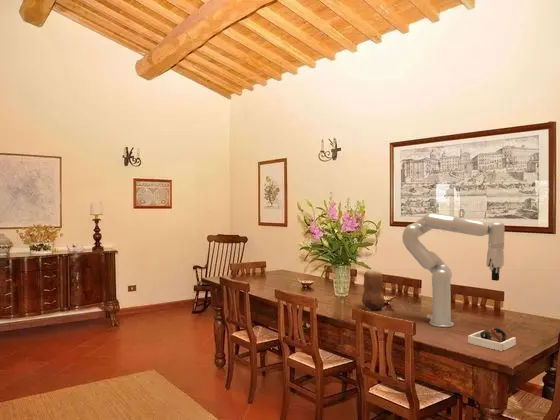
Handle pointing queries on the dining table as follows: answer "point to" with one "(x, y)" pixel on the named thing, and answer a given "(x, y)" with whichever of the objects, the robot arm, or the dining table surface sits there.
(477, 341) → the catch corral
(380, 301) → the butternut squash
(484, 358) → the dining table surface
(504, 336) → the pottery mug
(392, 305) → the dining table surface
